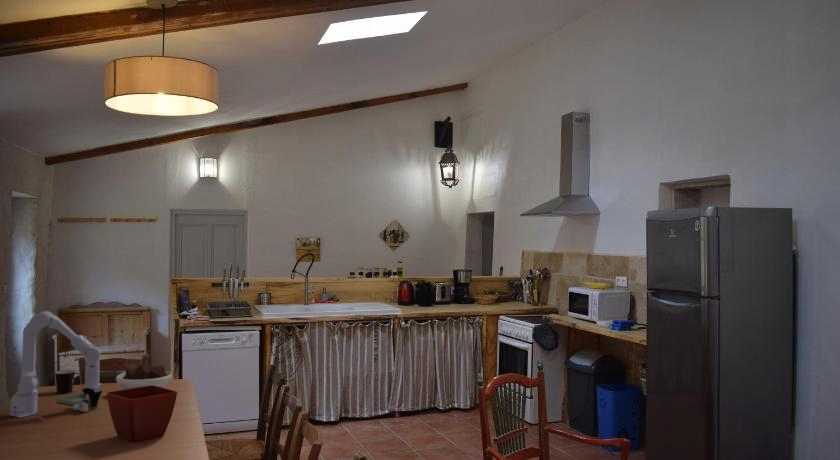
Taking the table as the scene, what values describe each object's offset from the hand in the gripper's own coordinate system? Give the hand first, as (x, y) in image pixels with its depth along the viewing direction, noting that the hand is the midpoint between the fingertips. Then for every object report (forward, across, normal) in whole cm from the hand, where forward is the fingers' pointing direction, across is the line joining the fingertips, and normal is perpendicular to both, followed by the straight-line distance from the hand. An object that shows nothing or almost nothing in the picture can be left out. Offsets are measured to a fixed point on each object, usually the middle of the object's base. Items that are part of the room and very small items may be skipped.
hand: (91, 405), depth 293 cm
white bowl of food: (+2, +16, -28) cm, 32 cm away
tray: (+2, +18, 0) cm, 18 cm away
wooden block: (+1, 0, 0) cm, 1 cm away
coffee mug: (+2, +45, -2) cm, 45 cm away
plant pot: (+2, -54, -2) cm, 54 cm away
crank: (+1, -3, +5) cm, 6 cm away
